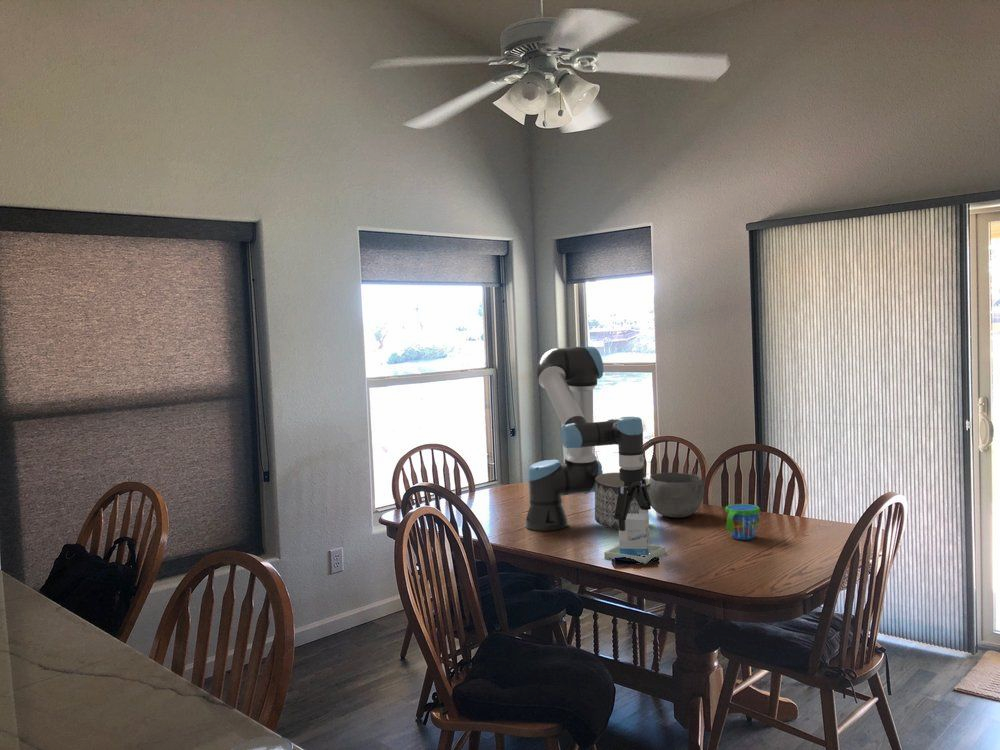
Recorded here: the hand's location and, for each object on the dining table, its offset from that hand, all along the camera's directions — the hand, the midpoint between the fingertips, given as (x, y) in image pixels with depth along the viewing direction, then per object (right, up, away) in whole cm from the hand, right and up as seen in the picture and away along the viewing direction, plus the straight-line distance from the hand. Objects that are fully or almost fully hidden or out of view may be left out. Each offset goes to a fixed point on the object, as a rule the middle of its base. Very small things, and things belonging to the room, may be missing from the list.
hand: (634, 535), depth 255 cm
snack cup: (+38, -4, +14) cm, 41 cm away
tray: (0, -6, 0) cm, 6 cm away
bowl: (+23, -3, +49) cm, 54 cm away
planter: (+1, -4, +38) cm, 38 cm away
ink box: (0, -6, 0) cm, 6 cm away
